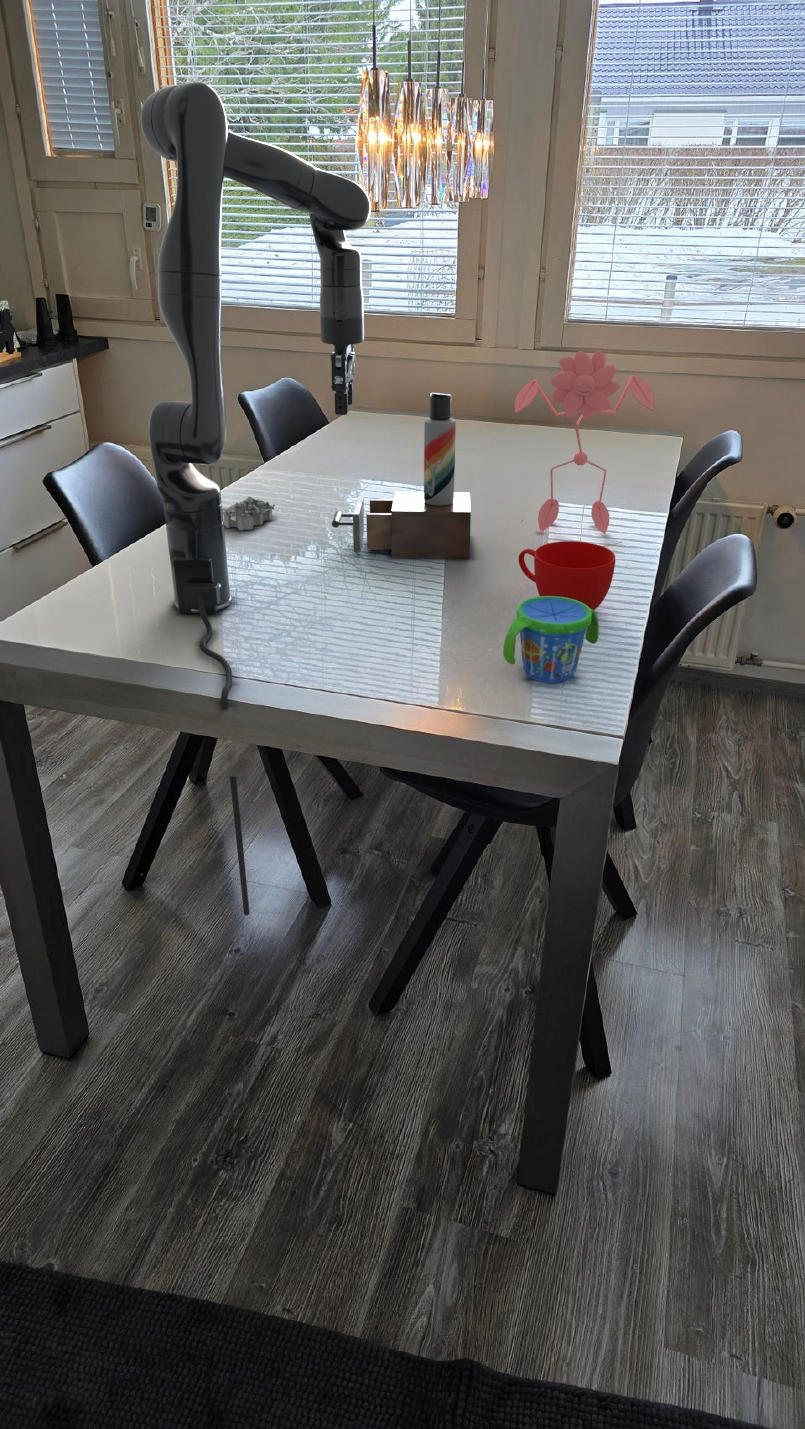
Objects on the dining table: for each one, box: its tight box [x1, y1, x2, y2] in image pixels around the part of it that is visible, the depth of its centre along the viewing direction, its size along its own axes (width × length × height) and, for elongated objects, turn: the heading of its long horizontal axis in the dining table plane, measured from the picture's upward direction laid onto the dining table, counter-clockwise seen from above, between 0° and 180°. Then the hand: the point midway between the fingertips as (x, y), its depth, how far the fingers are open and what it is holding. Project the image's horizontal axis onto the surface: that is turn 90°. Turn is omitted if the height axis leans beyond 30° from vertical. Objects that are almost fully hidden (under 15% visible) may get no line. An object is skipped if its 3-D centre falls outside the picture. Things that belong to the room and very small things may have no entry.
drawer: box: [331, 496, 393, 553], centre depth 191 cm, size 18×11×7 cm, turn 88°
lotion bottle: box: [423, 392, 457, 506], centre depth 184 cm, size 6×6×20 cm
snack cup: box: [502, 596, 600, 684], centre depth 144 cm, size 16×10×10 cm
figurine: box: [514, 350, 655, 548], centre depth 190 cm, size 15×26×35 cm, turn 80°
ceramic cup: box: [517, 540, 616, 611], centre depth 165 cm, size 13×17×10 cm
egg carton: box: [222, 496, 276, 531], centre depth 206 cm, size 11×8×4 cm
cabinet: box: [391, 491, 472, 560], centre depth 191 cm, size 15×12×9 cm
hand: (344, 409), depth 181 cm, fingers open, 8 cm apart
